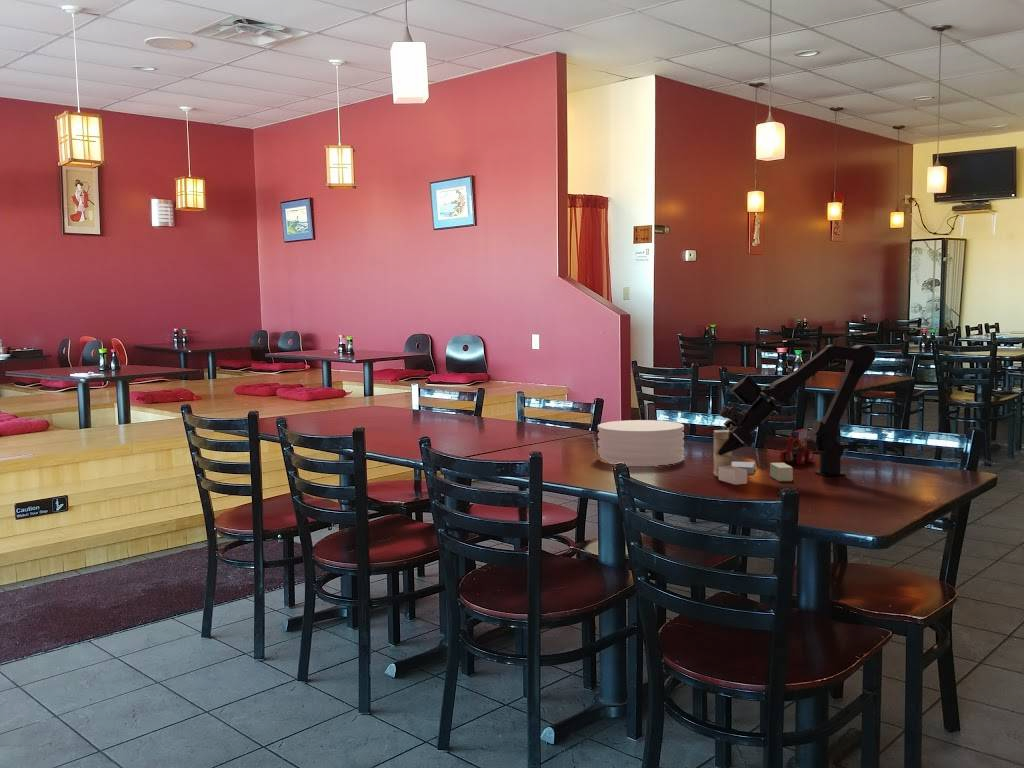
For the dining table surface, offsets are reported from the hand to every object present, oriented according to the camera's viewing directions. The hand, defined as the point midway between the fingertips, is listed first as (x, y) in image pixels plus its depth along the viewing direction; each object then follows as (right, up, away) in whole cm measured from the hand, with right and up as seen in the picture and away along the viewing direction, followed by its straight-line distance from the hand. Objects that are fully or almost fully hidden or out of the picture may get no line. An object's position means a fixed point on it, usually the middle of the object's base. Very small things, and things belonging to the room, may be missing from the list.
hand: (717, 452), depth 260 cm
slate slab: (+8, -6, +6) cm, 12 cm away
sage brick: (+17, -7, -6) cm, 19 cm away
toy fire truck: (+29, -5, +19) cm, 35 cm away
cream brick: (+2, -8, -10) cm, 12 cm away
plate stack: (-18, -5, +31) cm, 36 cm away
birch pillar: (+1, -7, 0) cm, 7 cm away
